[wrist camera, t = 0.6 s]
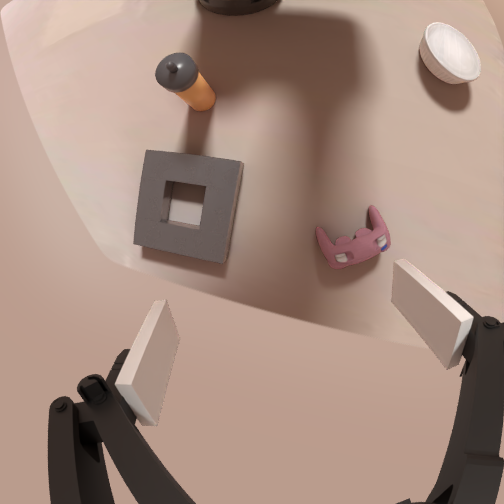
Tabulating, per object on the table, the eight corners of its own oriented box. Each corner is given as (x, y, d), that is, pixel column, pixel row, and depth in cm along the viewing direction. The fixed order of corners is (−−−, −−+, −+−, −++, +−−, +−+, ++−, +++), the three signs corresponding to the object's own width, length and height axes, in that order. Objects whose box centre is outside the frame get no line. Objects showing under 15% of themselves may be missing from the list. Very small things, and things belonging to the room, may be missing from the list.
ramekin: (404, 32, 31) (415, 18, 26) (452, 37, 29) (465, 26, 24) (427, 88, 33) (441, 78, 28) (473, 90, 31) (489, 83, 26)
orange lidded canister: (191, 85, 37) (155, 47, 24) (220, 86, 37) (193, 46, 24) (185, 112, 38) (144, 82, 25) (214, 114, 38) (183, 82, 25)
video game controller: (319, 249, 42) (333, 281, 36) (311, 226, 39) (325, 256, 34) (378, 225, 40) (399, 253, 35) (373, 200, 38) (396, 226, 32)
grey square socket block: (154, 152, 40) (146, 149, 37) (244, 163, 39) (240, 161, 36) (142, 240, 43) (133, 244, 40) (227, 258, 42) (222, 263, 39)
